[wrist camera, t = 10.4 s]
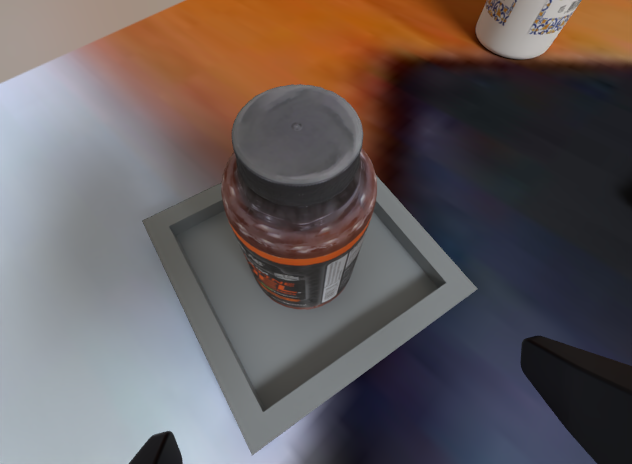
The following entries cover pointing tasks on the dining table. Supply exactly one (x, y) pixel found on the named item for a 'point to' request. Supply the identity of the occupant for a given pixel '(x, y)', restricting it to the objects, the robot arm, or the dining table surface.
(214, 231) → the tray
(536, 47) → the bath foam
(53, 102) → the dining table surface
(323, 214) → the supplement bottle
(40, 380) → the dining table surface
